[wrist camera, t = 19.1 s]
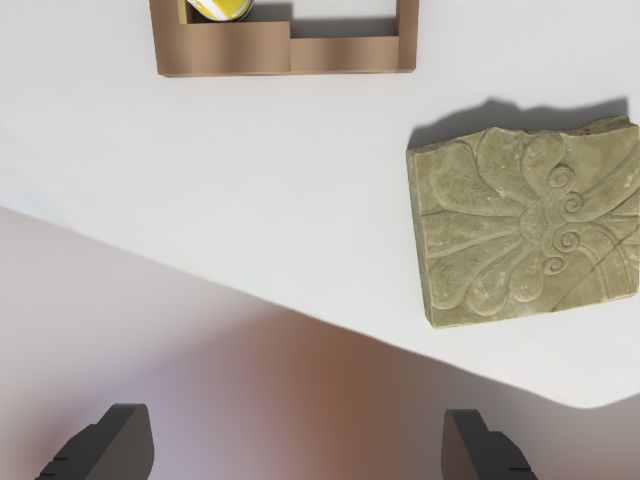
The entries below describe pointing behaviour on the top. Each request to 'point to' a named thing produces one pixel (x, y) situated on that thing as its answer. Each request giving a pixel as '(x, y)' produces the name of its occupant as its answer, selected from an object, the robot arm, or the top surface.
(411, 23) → the keyhole board
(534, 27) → the top surface
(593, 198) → the decorative tile
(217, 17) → the supplement bottle
